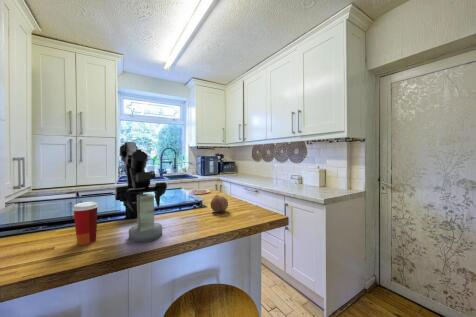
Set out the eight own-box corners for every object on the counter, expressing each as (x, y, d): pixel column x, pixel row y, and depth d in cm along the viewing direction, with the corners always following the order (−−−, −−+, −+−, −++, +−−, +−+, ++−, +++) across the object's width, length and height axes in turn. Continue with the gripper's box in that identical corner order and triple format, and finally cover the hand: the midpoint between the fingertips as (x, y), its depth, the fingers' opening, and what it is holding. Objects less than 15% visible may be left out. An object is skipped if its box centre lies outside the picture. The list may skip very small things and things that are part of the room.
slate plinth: (124, 243, 75) (123, 235, 75) (134, 230, 87) (134, 223, 87) (159, 241, 77) (158, 233, 77) (164, 228, 89) (164, 221, 89)
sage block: (137, 227, 82) (136, 194, 82) (150, 224, 85) (150, 193, 85) (140, 231, 78) (139, 197, 78) (154, 228, 81) (153, 195, 81)
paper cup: (95, 235, 82) (94, 200, 81) (102, 241, 77) (101, 203, 76) (70, 242, 76) (69, 204, 75) (76, 249, 71) (74, 208, 70)
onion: (213, 216, 114) (208, 198, 117) (230, 210, 116) (224, 193, 118) (213, 215, 105) (207, 196, 108) (230, 209, 107) (224, 190, 109)
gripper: (115, 165, 78) (121, 200, 70) (165, 163, 89) (175, 193, 81) (112, 183, 84) (117, 217, 76) (159, 179, 96) (168, 208, 88)
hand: (146, 208), depth 80 cm, fingers open, 9 cm apart
